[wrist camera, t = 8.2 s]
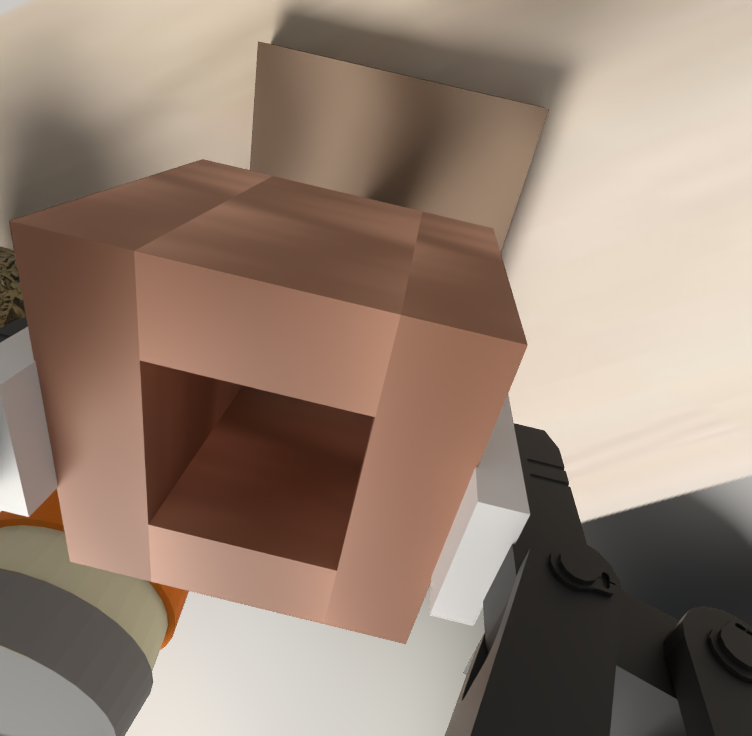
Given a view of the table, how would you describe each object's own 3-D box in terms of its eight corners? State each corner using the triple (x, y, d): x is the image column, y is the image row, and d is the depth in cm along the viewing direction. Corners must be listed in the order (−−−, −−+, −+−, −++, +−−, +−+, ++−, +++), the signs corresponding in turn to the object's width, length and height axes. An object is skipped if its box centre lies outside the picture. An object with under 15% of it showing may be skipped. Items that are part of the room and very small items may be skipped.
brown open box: (198, 399, 15) (69, 561, 10) (203, 159, 12) (9, 220, 7) (420, 453, 15) (405, 643, 10) (493, 228, 12) (527, 344, 7)
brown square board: (251, 297, 28) (241, 309, 26) (270, 43, 22) (257, 41, 20) (463, 347, 28) (463, 361, 26) (542, 107, 21) (548, 109, 20)
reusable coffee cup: (268, 530, 37) (172, 772, 24) (130, 551, 40) (-20, 774, 27) (185, 391, 32) (3, 607, 19) (34, 429, 35) (-210, 634, 22)
